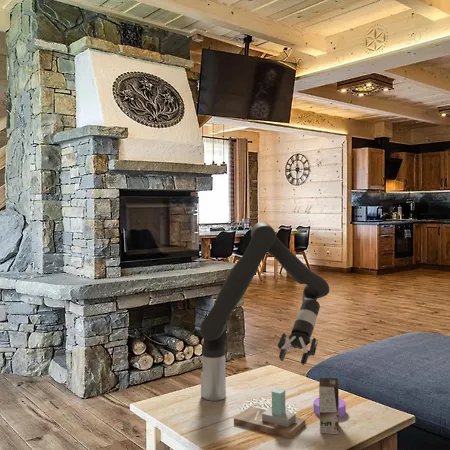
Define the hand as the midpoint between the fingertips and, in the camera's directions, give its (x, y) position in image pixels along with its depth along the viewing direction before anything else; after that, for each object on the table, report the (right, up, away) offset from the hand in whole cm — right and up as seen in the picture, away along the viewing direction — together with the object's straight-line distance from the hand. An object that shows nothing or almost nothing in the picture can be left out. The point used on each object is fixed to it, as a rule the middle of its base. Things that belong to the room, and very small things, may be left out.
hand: (291, 361), depth 182 cm
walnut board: (-9, -20, -7) cm, 23 cm away
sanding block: (-6, -18, -9) cm, 21 cm away
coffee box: (+12, -20, -11) cm, 25 cm away
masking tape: (+15, -20, +3) cm, 25 cm away
